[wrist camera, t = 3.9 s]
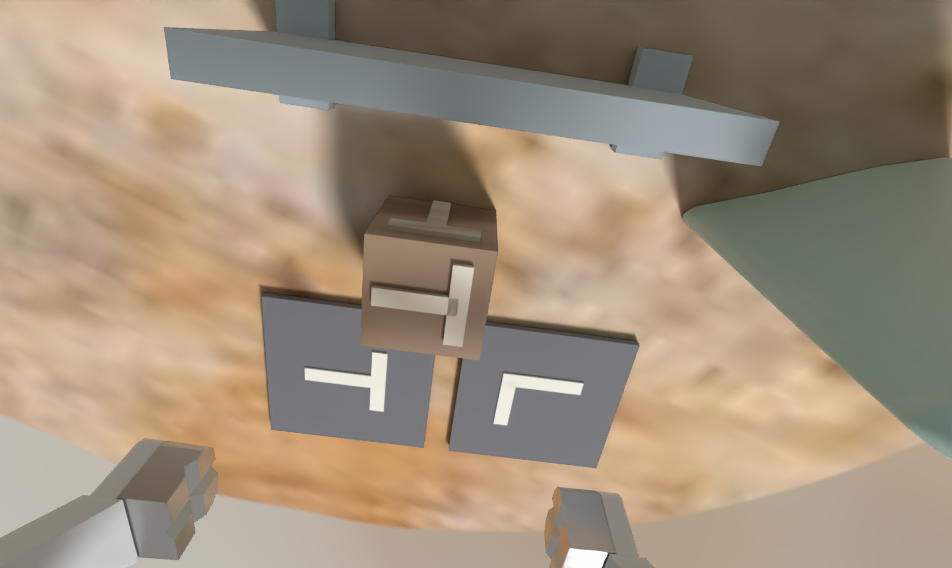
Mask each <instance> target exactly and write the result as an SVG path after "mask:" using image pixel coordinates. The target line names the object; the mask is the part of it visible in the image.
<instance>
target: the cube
mask: <svg viewBox="0 0 952 568" xmlns="http://www.w3.org/2000/svg"><path fill="white" fill-rule="evenodd" d="M497 255H498V240H497V219H496V210H489V209H482V208H475V207H468V206H461V205H453V204H451V203H449V202H442V201H435V200H434V201H433V202H432V201H425V200H418V199H411V198H403V197H396V196H388V197H387V199H386V201H385V202H384V204H383V205H382V207H381V208H380V210H379V211H378V213H377V215H376V216H375V218H374V219H373V221H372V222H371V224H370V225H369V227H368V229H367V230H366V232H365V233H364V255H363V284H362V313H361V342H360V345H361V346H369V347H377V348H385V349H393V350H401V351H409V352H417V353H425V354H433V355H440V356H448V357H456V358H464V359H472V360H480V354H481V348H482V342H483V336H484V331H485V325H486V319H487V313H488V307H489V302H490V296H491V290H492V284H493V278H494V273H495V267H496V261H497Z"/></svg>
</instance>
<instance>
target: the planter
mask: <svg viewBox="0 0 952 568" xmlns="http://www.w3.org/2000/svg"><path fill="white" fill-rule="evenodd" d="M683 221H684V222H685V223H686V224H687V225H688V226H689V227H690V228H691V229H692V230H693V231H694V232H695V233H696V234H697V235H698V236H700V237H701V238H702V239H703V240H704V241H705V242H706V243H707V244H708V245H709V246H710V247H711V248H712V249H714V250H715V251H716V252H717V253H718V254H719V255H720V256H721V257H722V258H723V259H724V260H725V261H727V262H728V263H729V264H730V265H731V266H732V267H733V268H734V269H735V270H736V271H737V272H738V273H739V274H741V275H742V276H743V277H744V278H745V279H746V280H747V281H748V282H749V283H750V284H751V285H752V286H753V287H755V288H756V289H757V290H758V291H759V292H760V293H761V294H762V295H763V296H764V297H765V298H766V299H767V300H769V301H770V302H771V303H772V304H773V305H774V306H775V307H776V308H777V309H778V310H779V311H780V312H782V313H783V314H784V315H785V316H786V317H787V318H788V319H789V320H790V321H791V322H792V323H793V324H794V325H796V326H797V327H798V328H799V329H800V330H801V331H802V332H803V333H804V334H805V335H806V336H807V337H809V338H810V339H811V340H812V341H813V342H814V343H815V344H816V345H817V346H818V347H819V348H820V349H821V350H823V351H824V352H825V353H826V354H827V355H828V356H829V357H830V358H831V359H832V360H833V361H834V362H836V363H837V364H838V365H839V366H840V367H841V368H842V369H843V370H844V371H845V372H846V373H847V374H848V375H850V376H851V377H852V378H853V379H854V380H855V381H856V382H857V383H858V384H859V385H861V386H862V387H863V388H864V389H865V390H866V391H867V392H868V393H869V394H870V395H872V396H873V397H874V398H875V399H876V400H877V401H878V402H879V403H880V404H882V405H883V406H884V407H885V408H886V409H887V410H888V411H889V412H890V413H891V414H893V415H894V416H895V417H896V418H897V419H898V420H899V421H900V422H901V423H903V424H904V425H905V426H906V427H907V428H908V429H910V430H911V431H912V432H913V433H914V434H916V435H917V436H918V437H920V438H921V439H922V440H923V441H925V442H926V443H927V444H929V445H930V446H932V447H933V448H934V449H935V450H937V451H938V452H940V453H941V454H942V455H944V456H945V457H946V458H948V459H949V460H951V461H952V159H951V158H947V157H942V158H935V159H928V160H921V161H914V162H907V163H899V164H892V165H885V166H879V167H874V168H869V169H865V170H860V171H856V172H851V173H847V174H842V175H838V176H833V177H829V178H824V179H820V180H816V181H812V182H808V183H804V184H800V185H795V186H791V187H787V188H783V189H779V190H775V191H771V192H766V193H761V194H756V195H751V196H746V197H741V198H736V199H731V200H726V201H720V202H715V203H710V204H704V205H700V206H697V207H694V208H691V209H689V210H688V211H686V212H685V213H684V214H683Z"/></svg>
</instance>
